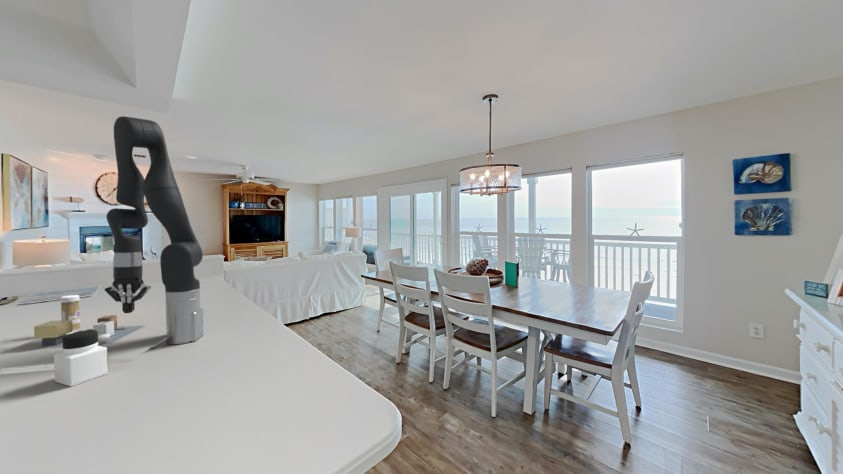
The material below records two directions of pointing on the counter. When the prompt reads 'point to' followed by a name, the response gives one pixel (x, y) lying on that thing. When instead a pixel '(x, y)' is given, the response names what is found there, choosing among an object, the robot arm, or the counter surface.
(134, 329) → the board
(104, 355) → the medicine bottle
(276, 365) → the counter surface
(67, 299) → the sprinkles bottle
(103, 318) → the walnut fader
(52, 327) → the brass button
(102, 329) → the grey fader
